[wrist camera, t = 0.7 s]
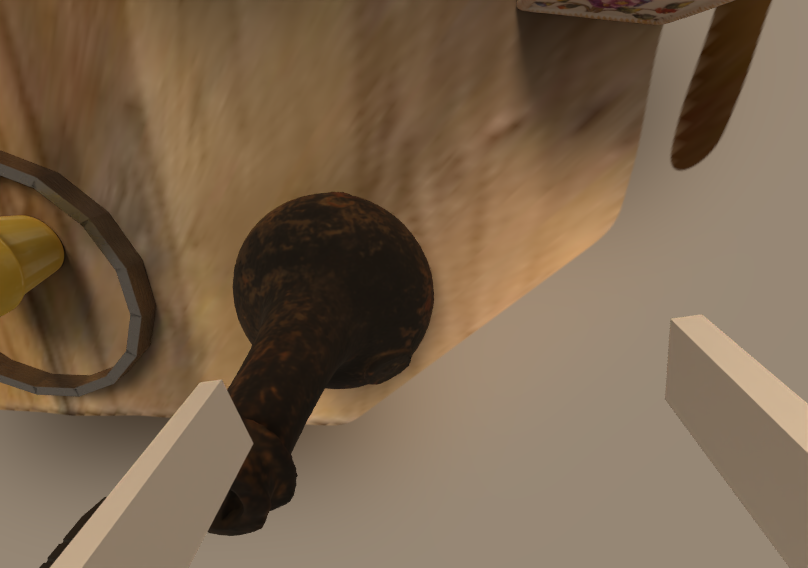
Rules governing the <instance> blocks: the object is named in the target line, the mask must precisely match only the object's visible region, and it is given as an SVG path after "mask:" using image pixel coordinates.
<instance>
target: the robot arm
mask: <svg viewBox="0 0 808 568" xmlns="http://www.w3.org/2000/svg"><path fill="white" fill-rule="evenodd" d="M665 400H666V401H667V402H668V404H669V405H670V407H671V408H672V409H673V410H674V412H675V413H676V415H677V416H678V417H679V419H680V420H681V421H682V423H683V424H684V426H685V427H686V428H687V430H688V431H689V432H690V434H691V435H692V436H693V438H694V439H695V440H696V442H697V443H698V445H699V446H700V447H701V449H702V450H703V451H704V453H705V454H706V455H707V457H708V458H709V459H710V461H711V462H712V463H713V465H714V466H715V468H716V469H717V470H718V472H719V473H720V474H721V476H722V477H723V478H724V480H725V481H726V482H727V484H728V485H729V486H730V488H731V489H732V490H733V492H734V493H735V495H736V496H737V497H738V499H739V500H740V501H741V503H742V504H743V505H744V507H745V508H746V509H747V511H748V512H749V514H750V515H751V516H752V518H753V519H754V520H755V522H756V523H757V524H758V526H759V527H760V528H761V529H762V531H763V532H764V534H765V535H766V537H767V538H768V539H769V541H770V542H771V543H772V545H773V546H774V547H775V549H776V550H777V551H778V553H779V554H780V556H781V557H782V558H783V560H784V561H785V562H786V564H787V565H788V566H789V568H808V404H807V403H806V402H805V401H803V400H802V399H801V398H800V397H799V396H798V395H797V394H795V393H794V392H793V391H792V390H791V389H789V388H788V387H787V386H786V385H785V384H783V383H782V382H781V381H780V380H779V379H778V378H776V377H775V376H774V375H773V374H772V373H771V372H769V371H768V370H767V369H766V368H764V367H763V366H762V365H761V364H760V363H759V362H758V361H756V360H755V359H754V358H753V357H752V356H750V355H749V354H748V353H747V352H746V351H745V350H743V349H742V348H741V347H740V346H739V345H737V344H736V343H735V342H734V341H733V340H731V339H730V338H729V337H728V336H727V335H726V334H724V333H723V332H722V331H721V330H720V329H718V328H717V327H716V326H715V325H714V324H713V323H711V322H710V321H709V320H708V319H707V318H705V317H704V316H703V315H695V316H687V317H681V318H673V319H671V321H670V334H669V349H668V364H667V380H666V394H665ZM252 445H253V442H252V440H251V438H250V436H249V434H248V432H247V429H246V427H245V425H244V423H243V421H242V419H241V417H240V415H239V413H238V411H237V409H236V407H235V405H234V403H233V401H232V399H231V397H230V395H229V393H228V391H227V389H226V387H225V385H224V383H223V381H222V380H215V381H207V382H200V383H199V384H198V386H197V387H196V388H195V389H194V390H193V392H192V393H191V394H190V395H189V397H188V398H187V399H186V400H185V402H184V403H183V404H182V405H181V406H180V408H179V409H178V410H177V411H176V413H175V414H174V415H173V416H172V418H171V419H170V420H169V421H168V423H167V424H166V425H165V426H164V427H163V429H162V430H161V431H160V432H159V434H158V435H157V436H156V437H155V439H154V440H153V441H152V442H151V444H150V445H149V446H148V447H147V449H146V450H145V451H144V452H143V453H142V455H141V456H140V457H139V458H138V460H137V461H136V462H135V463H134V464H133V466H132V467H131V468H130V469H129V471H128V472H127V473H126V475H125V476H124V477H123V478H122V479H121V481H120V482H119V483H118V484H117V485H116V487H115V488H114V489H113V490H112V492H111V493H110V494H109V495H108V497H104V498H103V499H102V500H101V501H100V502H99V503H97V504H96V505H95V506H94V507H93V508H92V509H90V510H89V511H88V512H87V513H86V514H85V515H84V516H82V517H81V519H80V520H79V521H78V522H77V523H76V524H75V526H74V527H73V528H72V529H71V530H70V532H69V533H68V534H67V535H66V536H65V538H64V539H63V540H64V541H63V543H62V544H59V545H58V546H57V548H56V549H55V550H54V551H53V552H52V553H51V555H50V556H49V557H48V561H47V562H46V563H43V564H42V565H41V567H40V568H189V566H190V564H191V562H192V560H193V559H194V557H195V555H196V553H197V551H198V549H199V547H200V545H201V543H202V541H203V539H204V537H205V535H206V534H207V532H208V530H209V528H210V526H211V524H212V522H213V520H214V518H215V516H216V514H217V512H218V510H219V509H220V507H221V505H222V503H223V501H224V499H225V497H226V495H227V493H228V491H229V489H230V487H231V485H232V484H233V482H234V480H235V478H236V476H237V474H238V472H239V470H240V468H241V466H242V464H243V462H244V460H245V458H246V457H247V455H248V453H249V451H250V449H251V447H252Z"/></svg>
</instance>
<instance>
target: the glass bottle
mask: <svg viewBox="0 0 808 568" xmlns="http://www.w3.org/2000/svg"><path fill="white" fill-rule="evenodd" d="M233 295H234V304H235V308H236V312H237V316H238V319H239V322H240V324H241V326H242V328H243V330H244V332H245V334H246V336H247V338H248V339H249V341H250V342H251V344H252V347H251V349H250V351H249V353H248V355H247V357H246V358H245V360H244V362H243V364H242V366H241V368H240V370H239V371H238V373H237V375H236V376H235V378H234V380H233V381H232V383H231V385H230V386H229V388H228V390H227V391H228V393H229V395H230V397H231V399H232V401H233V403H234V405H235V407H236V409H237V411H238V413H239V415H240V417H241V419H242V421H243V423H244V425H245V427H246V429H247V432H248V434H249V436H250V438H251V440H252V442H253V445H252V447H251V449H250V451H249V453H248V455H247V457H246V458H245V460H244V462H243V464H242V466H241V468H240V470H239V472H238V474H237V476H236V478H235V480H234V482H233V484H232V485H231V487H230V489H229V491H228V493H227V495H226V497H225V499H224V501H223V503H222V505H221V507H220V509H219V510H218V512H217V514H216V516H215V518H214V520H213V522H212V524H211V526H210V528H209V530H208V532H209V533H213V534H218V535H228V536H234V535H242V534H246V533H251V532H254V531H256V530H259V529H261V528H262V527H263V525H264V523H265V521H266V518H267V515H268V513H269V511H271V510H274V509H276V508H278V507H280V506H283V505H285V504H287V503H288V502H290V501H291V499H292V497H293V496H294V492H295V487H296V477H297V473H296V467H295V465H294V462H293V460H292V456H291V453H292V451H293V448H294V446H295V444H296V442H297V440H298V438H299V436H300V434H301V433H302V430H303V428H304V425H305V424H306V421H307V420H308V418H309V416H310V415H311V413H312V411H313V409H314V407H315V406H316V403H317V402H318V400H319V398H320V396H321V394H322V392H323V391H324V389H325V388H328V389H348V388H356V387H360V386H364V385H367V384H380V383H383V382H384V381H387V380H389V379H391V378H392V377H394V376H396V375H397V374H399V373H401V372H402V371H403V370H404V369H405V368H406V367H407V366H409V364H410V362H411V357H412V354H413V353H414V352H415V350H416V349H417V348H418V346H419V344H420V342H421V341H422V339H423V337H424V335H425V333H426V330H427V328H428V325H429V322H430V317H431V314H432V309H433V304H434V292H433V281H432V275H431V271H430V267H429V265H428V262H427V259H426V257H425V255H424V253H423V251H422V249H421V247H420V245H419V244H418V242H417V240H416V239H415V237H414V236H413V235H412V233H411V232H410V231H409V230H408V229H407V227H406V226H405V225H404V224H403V223H402V222H400V221H399V220H398V219H397V218H396V217H395V216H393V215H392V214H391V213H390V212H388V211H387V210H385V209H383V208H382V207H380V206H378V205H376V204H374V203H372V202H370V201H367V200H364V199H362V198H359V197H356V196H352V195H349V194H347V193H344V192H330V193H321V194H313V195H308V196H303V197H300V198H297V199H294V200H291V201H289V202H286V203H284V204H282V205H281V206H279V207H277V208H276V209H274V210H273V211H271V212H270V213H268V214H267V215H266V216H265V217H264V218H262V219H261V220H260V221H259V222H258V223H257V224H256V226H255V227H254V228H253V229H252V230H251V232H250V233H249V235H248V236H247V238H246V239H245V241H244V243H243V245H242V247H241V249H240V251H239V254H238V258H237V260H236V264H235V269H234V279H233Z"/></svg>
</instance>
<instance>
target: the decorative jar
mask: <svg viewBox="0 0 808 568" xmlns="http://www.w3.org/2000/svg"><path fill="white" fill-rule="evenodd" d="M731 1H734V0H517V8H518V9H520V10H523V11H529V12H535V13H547V14H558V15H566V16H577V17H583V18H590V19H602V20H611V21H623V22H633V23H642V24H652V25H662V24H666V23H670V22H673V21H676V20H679V19H682V18H685V17H688V16H691V15H694V14H697V13H700V12H703V11H706V10H709V9H712V8H715V7H718V6H720V5H723V4H726V3H729V2H731Z"/></svg>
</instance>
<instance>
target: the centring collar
mask: <svg viewBox="0 0 808 568" xmlns="http://www.w3.org/2000/svg"><path fill="white" fill-rule="evenodd" d="M0 175H1V176H3V177H6V178H8V179H11V180H14V181H16V182H19V183H21V184H24V185H27V186H29V187H32V188H34V189H35V190H37V191H38V192H39V193H41V194H42V195H43V196H44V197H46V198H47V199H48V200H50V201H51V202H52V203H54V204H55V205H56V206H57V207H59V208H60V209H61V210H63V211H64V212H65V213H67V214H68V215H69V216H70V217H72V218H73V219H74V220H76V221H77V222H78V223H80V224H81V225H82V226H83V227H84V229H85V230H86V231H87V233H88V234H89V235H90V237H91V238H92V239H93V241H94V242H95V243H96V245H97V246H98V247H99V249H100V250H101V251H102V253H103V254H104V255H105V257H106V258H107V259H108V261H109V262H110V263H111V265H112V266H113V267H114V269H115V270H116V272H117V276H118V279H119V282H120V285H121V288H122V291H123V294H124V297H125V300H126V303H127V306H128V309H129V312H130V323H129V332H128V340H127V349H126V352H125V353H124V355H123V356H122V357H121V358H120V360H119V361H118V362H117V363H116V365H115V366H114V367H112V368H109V369H106V370H104V371H101V372H98V373H96V374H93V375H91V376H88V375H62V374H50V373H48V372H45V371H42V370H39V369H36V368H33V367H30V366H27V365H25V364H22V363H19V362H16V361H13V360H11V359H9V358H8V357H6V356H5V355H3V354H1V353H0V382H2V383H4V384H7V385H10V386H13V387H16V388H19V389H22V390H25V391H28V392H31V393H34V394H37V395H61V396H82V395H84V394H87V393H90V392H93V391H95V390H98V389H101V388H103V387H106V386H109V385H112V384H114V383H116V382H117V381H118V380H119V379H120V378H121V377H122V376H124V375H125V374H126V373H127V372H128V371H129V370H130V369H131V368H132V366H133V365H134V364H135V363H136V362H137V360H138V359H139V358H140V357H141V355H142V354H143V353H144V352H145V351H146V349H147V348H148V347H149V346H150V345H151V338H152V331H153V324H154V317H155V310H156V304H155V301H154V298H153V294H152V291H151V287H150V284H149V281H148V277H147V274H146V271H145V267H144V264H143V261H142V259H141V257H140V256H139V255H138V253H137V252H136V250H135V249H134V248H133V246H132V245H131V243H130V242H129V241H128V239H127V238H126V236H125V235H124V234H123V232H122V231H121V229H120V228H119V227H118V225H117V224H116V222H115V221H114V220H113V218H112V217H111V215H110V214H109V212H107V211H106V210H105V209H103V208H102V207H101V206H100V205H98V204H97V203H96V202H95V201H93V200H92V199H91V198H90V197H88V196H87V195H86V194H84V193H83V192H82V191H81V190H79V189H78V188H77V187H76V186H74V185H73V184H72V183H70V182H69V181H68V180H67V179H65V178H64V177H63V176H62V175H60V174H59V173H57V172H55V171H52V170H49V169H47V168H44V167H42V166H39V165H37V164H34V163H32V162H29V161H26V160H24V159H21V158H19V157H16V156H14V155H11V154H8V153H6V152H3V151H0Z"/></svg>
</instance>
